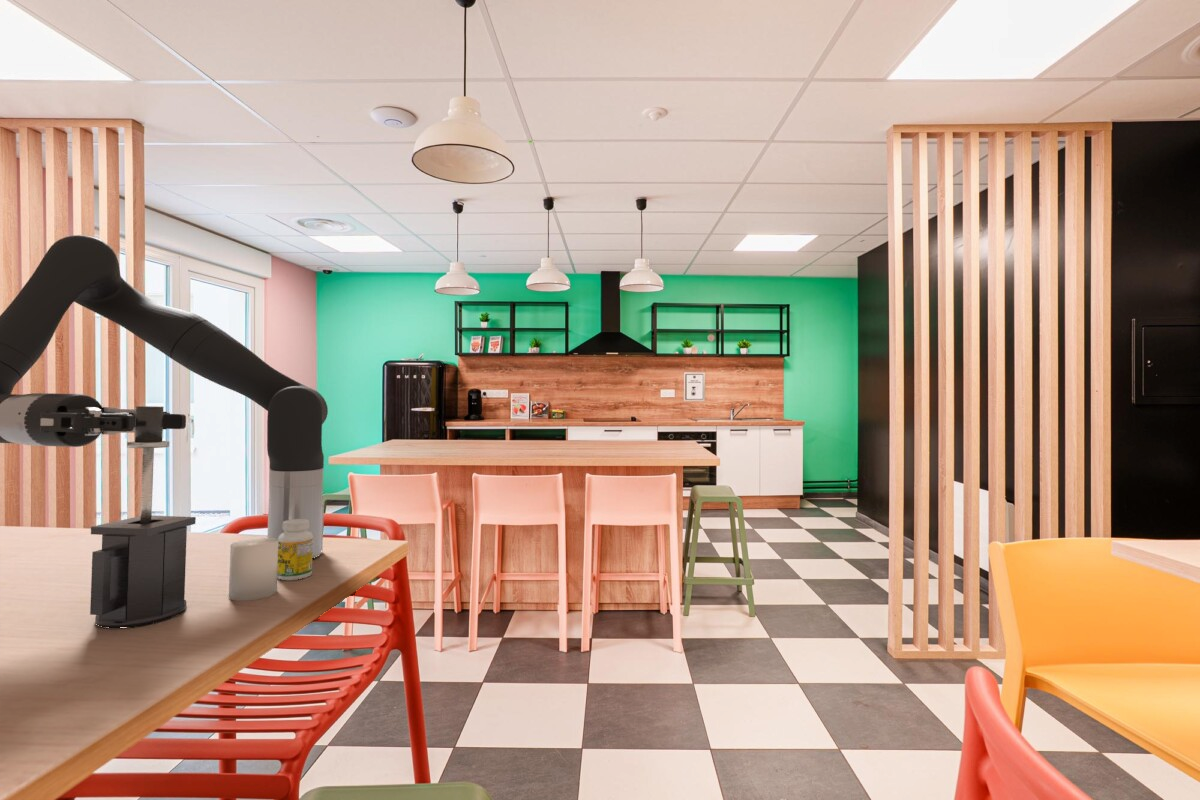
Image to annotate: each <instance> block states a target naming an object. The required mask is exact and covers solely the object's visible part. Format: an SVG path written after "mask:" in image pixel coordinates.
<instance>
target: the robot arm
mask: <svg viewBox="0 0 1200 800" xmlns="http://www.w3.org/2000/svg"><path fill="white" fill-rule="evenodd" d="M73 303H76V304H78V305H80V307H84V308H85V309H87V310H89V311H92V312H94V313H95V314H98V315H100V316H101V317H104V318H106V319H108V320H110V321H111V322H113V323H115V324H117V325H119V326H120V327H122V328H123V329H126V330H127V331H129V332H130V333H132V334H133V335H134V336H135V337H138V338H139V339H141V340H142V341H144V342H145V343H147V344H148V345H150V346H152V347H153V348H154V349H156V350H158V351H159V352H161V353H163V354H164V355H165V356H167V357H168V358H170V359H171V360H173V361H174V362H176V363H178V364H179V365H181V366H183V368H186V369H187V370H189V371H190V372H193V373H194V374H197V375H198V376H200V377H202V378H204V379H207V380H208V381H210V382H213V383H215V384H217V385H219V386H221V387H224V388H226V389H229V390H230V391H233V392H236V393H237V394H240V395H243V396H244V397H246V398H247V399H249V400H251V401H253V402H255V404H257V405H259V406H260V407H261V408H263V409H264V410H266V411H267V420H266V423H267V426H266V428H267V429H266V439H267V440H266V441H267V443H266V450H267V451H266V452H267V456H268V459H269V476H268V508H267V509H268V511H267V512H268V513H267V536H266V538H274V539H277V540H278V537H279V536H280V535H281V534H282V533H284V530H283V529H282V526H283V522H284V521H287V520H292V519H307V520H309V528H308V529H307V531H309V532H311V533H312V535H313V556H312V558H314V557H316V556H318V555H320V554H322V552H321V550H322V551H323V547H324V546H323V543H324V542H323V539H324V511H325V506H324V504H323V496H324V495H323V494H324V493H323V491H324V465H325V464H324V463H325V461H324V460H325V455H324V453H323V452H324V451H323V446H322V442H323V439H322V436H323V424H324V423H325V422H326V420H327V418H328V415H329V414H328V413H329V412H328V411H329V409H328V408H329V407H328V404H327V401H326V400H325V398H324V397H323V395H322V394H321V393H320V392H318V391H317V390H315V389H313V388H312V387H308V386H306V385H305V384H302V383H301V382H298V381H296V380H294V379H293V378H291V377H289V376H287V375H286V374H283V373H282V372H280V371H279V370H277V369H275V368H274V367H272V366H271V365H269V364H268V363H266V362H265V361H264V360H262V359H261V358H260V357H259V356H258V355H256V353H254V352H253V351H251V350H250V349H249V348H248V347H247V346H245V345H244V344H242V343H241V342H240V341H238V340H237V339H236V338H234V337H233V336H231V335H230V334H229V333H227V331H224V330H223V329H221V328H220V327H218V326H216V325H215V324H213V323H211V322H210V321H208V320H207V319H205V318H204V317H203V316H200V315H198V314H196V313H194V312H191V311H188V310H184V309H180V308H176V307H174V306H173V307H172V306H168V305H165V304H162V303H159V302H157V301H155V300H153V299H151V298H149V297H148V296H146V295H145V294H143V293H142V292H140V290H138V289H136V288H134V287H133V286H132V285H131V284H129V283H128V282H127V281H125V279H124V278H123V277H122V276H121V270H120V263H119V260H118V257H117V254H116V253H115V251H114V250H113V248H112V247H111V246H110V245H109V244H108V243H107V242H105V241H104V240H101V239H100V238H96V237H94V236H91V235H90V236H89V235H84V234H76V235H75V234H74V235H68V236H65V237H62V238H60V239H58V240H57V241H55V242H54V243H53V244H52V245H51V246H50V247H49V249H48V250H47V252H46V253H45V254H44V255H43V258H42V259H41V261H40V262H39V264H38V266H37V267H36V269H35V271H34V272H33V273H32V275H31V276H30V277H29V279H28V280H27V281H26V283H25V284H24V286H23V287H22V289H21V290H20V291H19V293H18V294H16V296H15V298H14V299H13V301H11V302H10V304H8V306H7V307H6V309H4V310H3V312H2V313H1V314H0V444H19V445H25V446H33V447H34V446H35V447H63V448H64V447H66V448H68V447H69V448H80V447H84V446H87V445H90V444H92V443H93V442H94V441H96V440H97V439H98V438H99V436H101V435H116V434H119V433H121V434H122V433H125V434H126V433H127V434H128V433H131V434H133V433H134V434H135V422H136V408H133V409H132V408H119V407H117V406H102V405H101V403H100V402H99V401H98V400H97V399H95V398H94V397H92V396H90V395H88V394H83V393H51V392H49V393H44V392H42V393H41V392H38V393H37V392H34V393H25V394H24V393H23V394H17V393H16V394H14V393H13V394H12V392H13V390H14V388H15V386H16V385H17V384H18V383H19V381H20V380H21V379H22V378H23V377H24V376H25V375H26V373H28V371H29V370H30V369H31V368H32V367H33V366H34V365H35V363H36V362H37V361H38V360H39V359H40V358H41V357H42V355H43V354H44V352H45V350H46V349H47V347H48V345H49V344H50V342H51V340H52V338H53V336H54V335H55V332H56V330H57V328H58V327H59V324H60V322H61V321H62V319H63V317H64V315H65V314H66V312H67V311H68V310H69V309H70V307H71V306H72V305H73ZM186 427H187V416H186V414H183V413H171V412H168V411H163V430H168V429H169V430H184V429H185V428H186ZM320 556H321V555H320ZM314 559H315V558H314Z"/></svg>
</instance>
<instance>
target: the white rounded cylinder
mask: <svg viewBox="0 0 1200 800" xmlns="http://www.w3.org/2000/svg"><path fill="white" fill-rule="evenodd" d="M229 553H230V554H229V577H228V578H229V580H228V581H229V583H228V585H229V586H228V599H230V600H231V601H237V602H248V601H255V600H261V599H265V598H268V597H271V596H273V595H275V594H276V593H277V592H278V578H277V570H278V540H277V539H274V538H267V537H255V538H248V539H241V540H237V541H235V542H234V541H233V542H232V543H231V544H230V551H229Z"/></svg>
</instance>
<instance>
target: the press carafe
mask: <svg viewBox="0 0 1200 800" xmlns="http://www.w3.org/2000/svg"><path fill="white" fill-rule="evenodd" d="M140 518H141V515H139V516H133V517H129V518H125V519H121V520H115V521H112V522H111V521H110V522H105V523H103V524H98V525H93V526H90V535H101V549H98V550H95V551H92V554H91V555H92V559H91V578H90V579H91V580H90V581H91V583H90V607H89V612H90V613H89V615H90V616H95V617H94V619H95V620H94V621H95V623H96V624H97V625H99V626H102V627H109V628H120V627H132V628H136V627H135V626H139V627H143V626H148V624H149V625H153V623H154V624H157V623H158V624H159V623H160V622H164V621H167V620H171V619H173V618H175V617H177V616H179V615H181V614H183V613H184V612H185V611H186V609H187V600H186V599H185V594H186V589H185V588H186V563H187V538H188V535H187V534H188V533H187V532H188V526H193V525H196V520H197V518H196V516H180V515H178V516H176V515H175V516H172V515H152V518H151V523H150V524H140Z"/></svg>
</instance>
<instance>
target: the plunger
mask: <svg viewBox="0 0 1200 800" xmlns="http://www.w3.org/2000/svg"><path fill="white" fill-rule="evenodd" d="M164 408H165V407H164V406H156V405H155V406H145V405H144V406H143V405H141V406H140V405H137V406H135V409H136V422H135V433H134V441H127V442H126V448H128V449H142V462H141V463H142V465H141V466H142V467H141V468H142V469H141V491H140V492H141V494H140V495H141V496H140V516H141V518H140V524H150V523H151V518H152V516H153V513H152V512H153V511H152V510H153V489H154V488H153V487H154V486H153V485H154V459H155V457H154V456H155V455H154V453H155V449H161V448H162V449H163V448H169V447H170V441H167V440H163V433H164V429H163V412H164Z"/></svg>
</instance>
